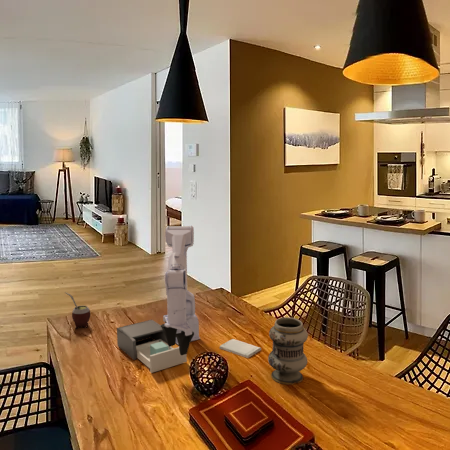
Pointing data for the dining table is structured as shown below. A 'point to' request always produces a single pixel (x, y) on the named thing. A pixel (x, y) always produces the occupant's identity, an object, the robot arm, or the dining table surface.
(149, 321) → the housing
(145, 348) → the tray
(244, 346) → the hard drive
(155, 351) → the teal block
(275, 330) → the apothecary jar
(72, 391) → the dining table surface
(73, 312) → the mate gourd
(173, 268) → the robot arm
